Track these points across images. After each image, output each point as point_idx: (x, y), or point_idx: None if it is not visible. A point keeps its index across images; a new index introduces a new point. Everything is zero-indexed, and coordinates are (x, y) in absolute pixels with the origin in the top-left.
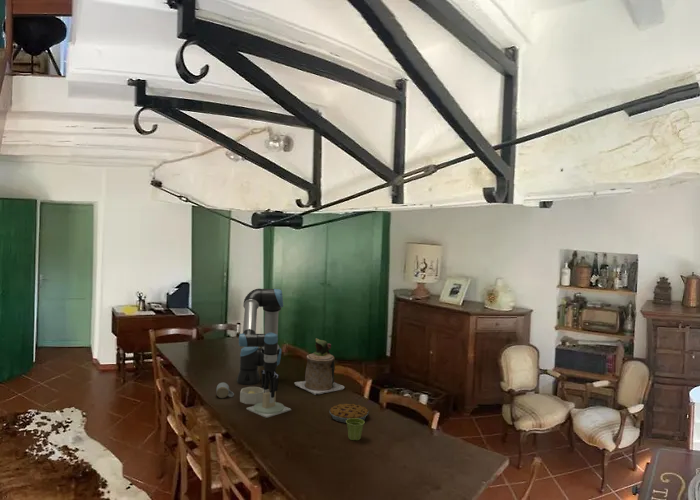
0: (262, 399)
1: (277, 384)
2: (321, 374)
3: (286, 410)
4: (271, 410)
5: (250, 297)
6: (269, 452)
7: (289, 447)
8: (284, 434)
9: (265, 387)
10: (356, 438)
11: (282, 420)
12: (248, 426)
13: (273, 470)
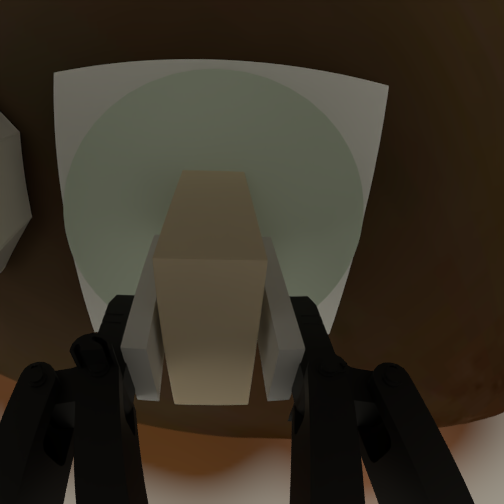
0: (5, 149)
1: (451, 471)
2: None
3: (378, 145)
4: (312, 283)
5: None
6: (459, 411)
7: (496, 373)
8: (474, 352)
9: (135, 429)
10: None
11: (428, 283)
12: None
13: (478, 418)
